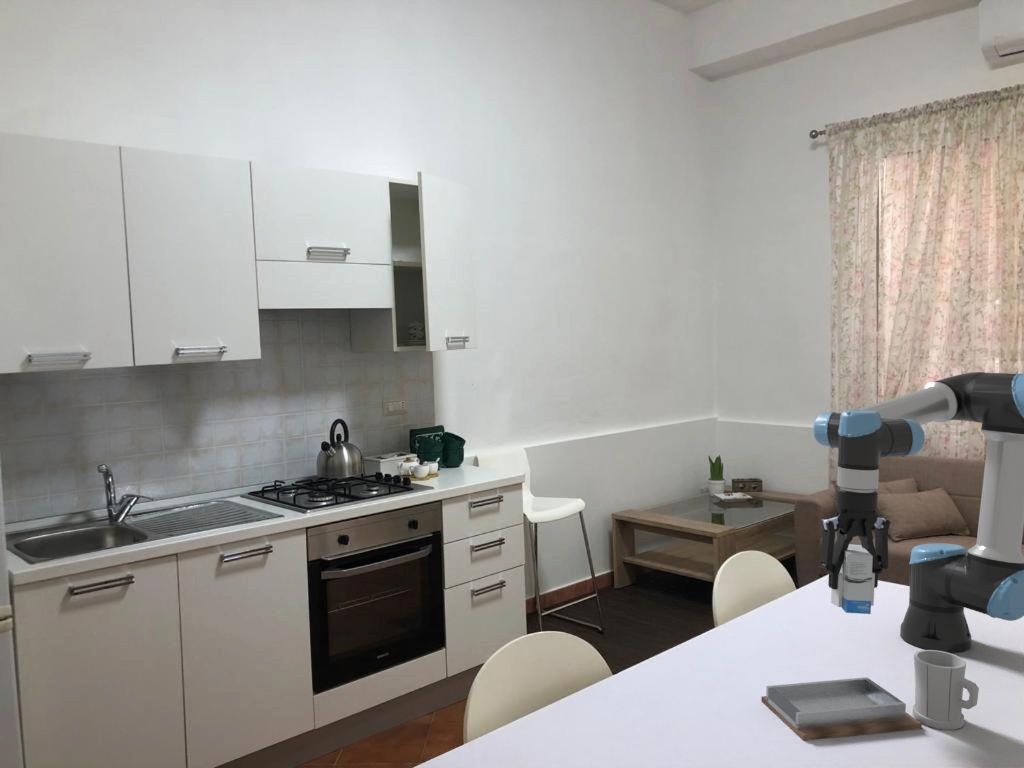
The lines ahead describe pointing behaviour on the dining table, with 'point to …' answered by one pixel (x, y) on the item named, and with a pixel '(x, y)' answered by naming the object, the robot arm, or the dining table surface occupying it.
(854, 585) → the ink box
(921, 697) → the cup
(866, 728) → the panel
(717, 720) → the dining table surface
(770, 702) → the metal serving tray
